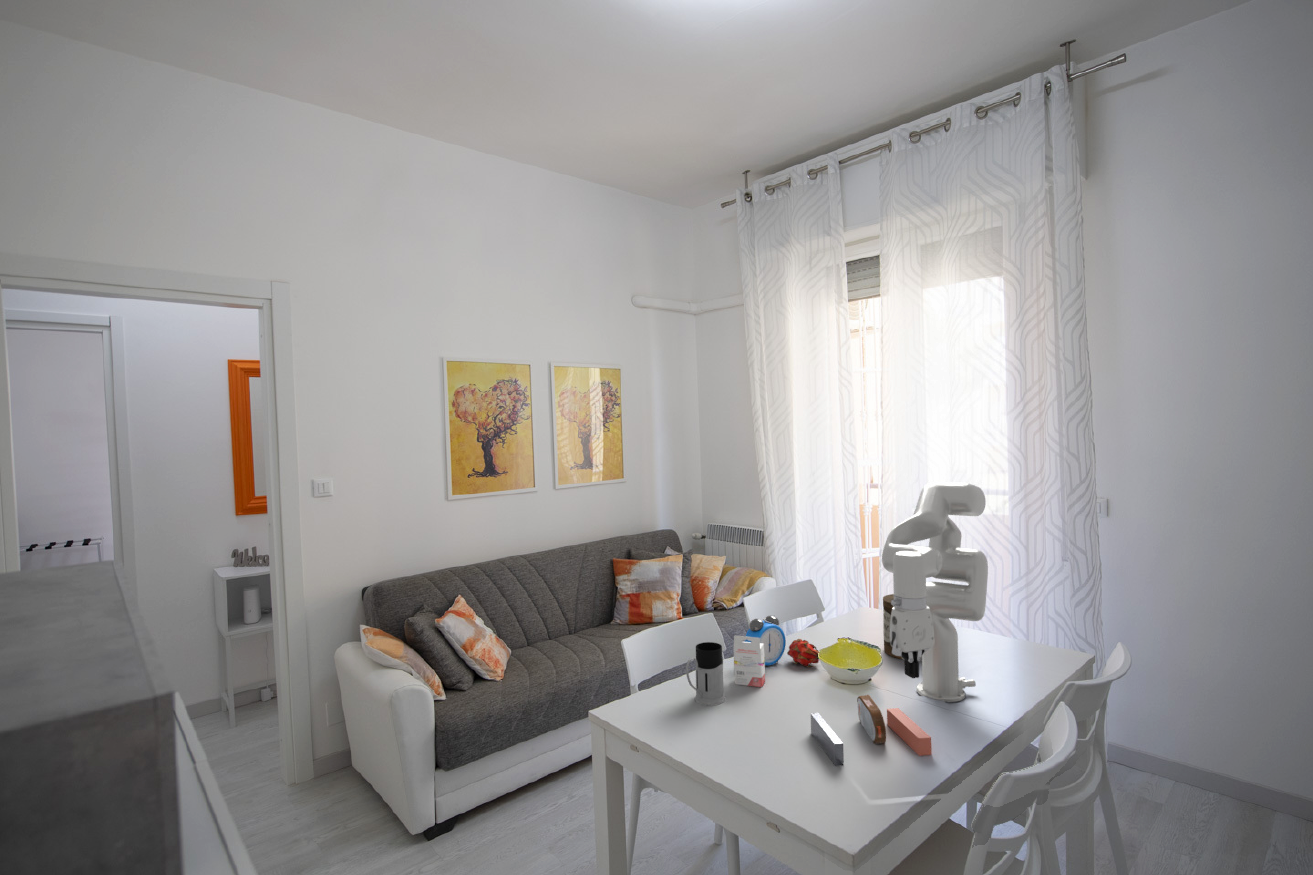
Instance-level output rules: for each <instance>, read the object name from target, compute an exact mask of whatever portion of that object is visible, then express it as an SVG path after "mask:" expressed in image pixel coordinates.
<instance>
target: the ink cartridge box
mask: <svg viewBox="0 0 1313 875" xmlns="http://www.w3.org/2000/svg"><path fill="white" fill-rule="evenodd" d="M746 639H747V640H748V641H751V642H744V641H745V640H746ZM732 650H733V671H734V672H733V675H734V676H733V677H734V685H738V686H739V685H741V686H748V687H749V686H750V687H756V688H763V686H764V684H765V683H766V665H765V660H764V644H763V643H760V638H756V637H747V636H746V635H745V636H743V635H736V634H735V635H734V636H733V649H732Z"/></svg>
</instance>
